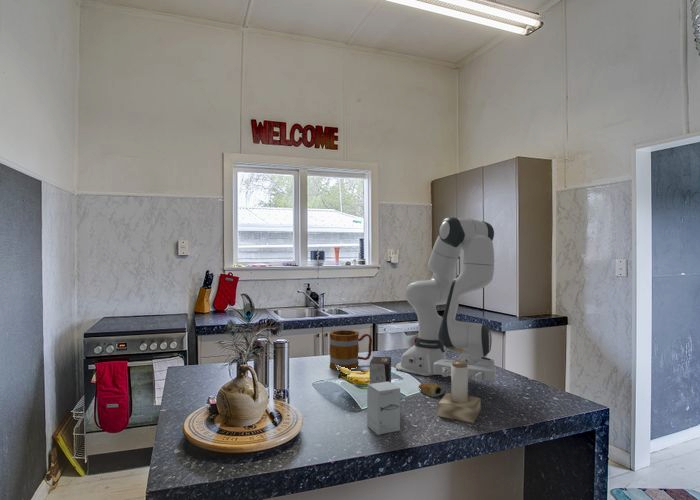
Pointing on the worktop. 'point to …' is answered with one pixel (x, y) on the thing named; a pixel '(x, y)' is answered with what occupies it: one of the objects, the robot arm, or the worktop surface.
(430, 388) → the pastry
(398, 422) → the supplement box
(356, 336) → the mug
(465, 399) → the spice jar
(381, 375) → the coffee box
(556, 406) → the worktop surface
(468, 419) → the riser
